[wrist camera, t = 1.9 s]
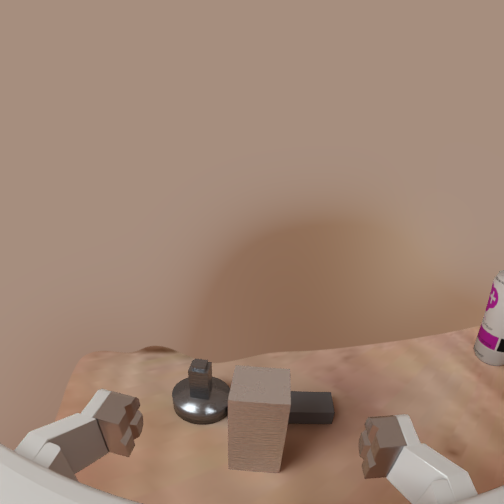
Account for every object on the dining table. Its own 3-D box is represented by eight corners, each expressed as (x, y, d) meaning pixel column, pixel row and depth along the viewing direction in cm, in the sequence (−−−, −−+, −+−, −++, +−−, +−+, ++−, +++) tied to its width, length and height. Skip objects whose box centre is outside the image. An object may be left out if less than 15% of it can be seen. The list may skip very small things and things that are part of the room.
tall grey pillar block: (280, 438, 31) (289, 369, 28) (279, 472, 26) (290, 404, 23) (234, 435, 31) (235, 365, 29) (228, 468, 26) (227, 400, 24)
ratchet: (166, 419, 33) (160, 377, 31) (181, 384, 39) (178, 343, 38) (332, 432, 31) (344, 391, 30) (326, 395, 38) (335, 355, 36)
